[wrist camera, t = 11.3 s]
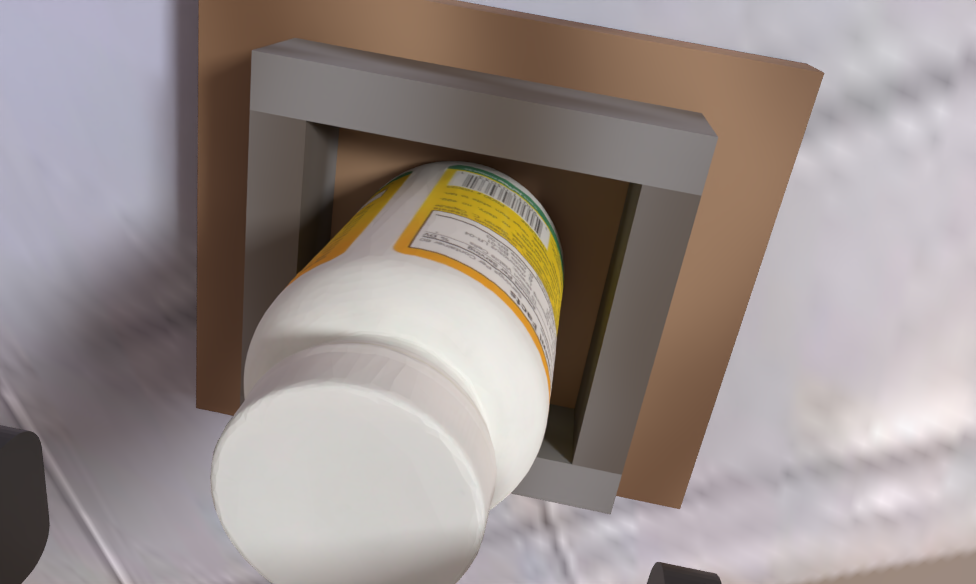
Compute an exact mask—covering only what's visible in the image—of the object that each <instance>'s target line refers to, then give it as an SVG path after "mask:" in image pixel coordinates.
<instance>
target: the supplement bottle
mask: <svg viewBox="0 0 976 584" xmlns="http://www.w3.org/2000/svg"><path fill="white" fill-rule="evenodd" d="M563 287H564V258H563V251H562V246H561V243H560V239H559V236H558V233H557V231H556V229H555V226H554V224H553V222H552V220H551V219H550V217H549V215H548V214H547V212H546V210H545V209H544V208H543V206H542V205H541V204H540V203H539V201H538V200H537V199H536V198H535V197H534V196H533V195H532V194H531V193H530V192H529V191H528V190H527V189H526V188H525V187H523V186H522V185H521V184H519V183H518V182H517V181H515V180H514V179H512V178H511V177H509V176H507V175H506V174H504V173H502V172H499V171H497V170H495V169H493V168H490V167H487V166H484V165H481V164H476V163H471V162H462V161H441V162H433V163H428V164H424V165H421V166H418V167H415V168H412V169H410V170H407V171H405V172H403V173H401V174H400V175H398V176H396V177H395V178H393V179H392V180H390V181H389V182H388V183H386V184H385V185H384V186H383V187H382V188H380V189H379V190H378V191H377V192H376V193H375V194H374V195H373V196H372V197H371V198H370V199H369V200H368V202H367V203H366V204H365V205H364V206H363V207H362V208H361V209H360V210H359V211H358V212H357V213H356V214H355V215H354V216H353V218H352V219H351V220H350V221H349V222H348V223H347V224H346V225H345V226H344V227H343V228H342V229H341V230H340V231H339V232H338V233H337V234H336V235H335V237H334V238H333V239H332V240H331V241H330V242H329V243H328V244H327V245H326V246H325V247H324V248H323V249H322V250H321V251H320V252H319V253H318V254H317V255H316V256H315V257H314V258H313V259H312V260H311V261H310V262H309V263H308V264H307V265H306V266H305V268H304V269H303V270H302V271H300V272H299V273H298V274H297V275H296V276H295V277H294V278H293V279H292V280H291V282H290V283H289V284H288V285H287V286H286V288H285V289H284V290H283V291H282V292H281V293H280V294H279V295H278V297H277V298H276V299H275V300H274V302H273V303H272V304H271V306H270V307H269V308H268V310H267V311H266V312H265V314H264V316H263V317H262V319H261V321H260V322H259V324H258V326H257V328H256V330H255V333H254V335H253V338H252V340H251V343H250V346H249V349H248V353H247V357H246V362H245V369H244V397H245V401H244V402H243V404H242V405H241V406H240V408H239V409H238V410H237V412H236V413H235V414H234V416H233V417H232V418H231V420H230V421H229V422H228V424H227V425H226V427H225V429H224V431H223V433H222V435H221V437H220V438H219V440H218V442H217V445H216V447H215V450H214V454H213V459H212V465H211V493H212V498H213V502H214V506H215V510H216V512H217V515H218V517H219V519H220V522H221V524H222V526H223V528H224V530H225V532H226V534H227V536H228V537H229V539H230V540H231V542H232V544H233V545H234V546H235V547H236V549H237V550H238V551H239V553H240V554H241V555H242V556H243V557H244V559H245V560H246V561H247V562H248V563H249V564H250V565H251V566H252V567H253V568H254V569H255V570H256V571H257V572H258V573H259V574H260V575H262V576H263V577H264V578H266V579H267V580H268V581H270V582H271V583H273V584H455V583H457V582H458V581H459V580H460V578H461V577H462V576H463V575H464V574H465V572H466V571H467V570H468V568H469V567H470V565H471V564H472V562H473V560H474V559H475V557H476V556H477V554H478V551H479V548H480V545H481V542H482V539H483V536H484V532H485V528H486V523H487V519H488V514H489V510H491V509H493V508H494V507H495V506H496V505H498V504H499V503H500V502H501V501H502V500H504V499H505V498H506V497H507V496H508V495H509V494H510V493H511V492H512V491H513V490H514V489H515V488H516V487H517V486H518V485H519V483H520V482H521V481H522V479H523V478H524V477H525V475H526V474H527V473H528V471H529V470H530V468H531V466H532V464H533V462H534V460H535V458H536V456H537V454H538V452H539V449H540V447H541V444H542V441H543V438H544V434H545V429H546V425H547V419H548V412H549V404H550V396H551V389H552V380H553V371H554V362H555V354H556V341H557V333H558V325H559V316H560V308H561V301H562V295H563Z"/></svg>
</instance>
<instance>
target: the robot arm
mask: <svg viewBox="0 0 976 584" xmlns="http://www.w3.org/2000/svg"><path fill="white" fill-rule="evenodd" d="M49 526H50V525H49V512H48V503H47V493H46V484H45V474H44V465H43V455H42V447H41V442H40V440H39V438H38V436H37V435H36V434H35V433H33V432H30V431H25V430H21V429H16V428H11V427H6V426H1V425H0V584H21V583H22V582H23V581H24V580H25V579H26V578H27V577H28V575H29V574H30V573H31V572H32V570H33V569H34V568H35V566H36V564H37V563H38V561H39V559H40V557H41V555H42V553H43V551H44V548H45V545H46V542H47V539H48V534H49ZM647 584H721V580H720V578H719V576H718V575H717V574H715V573H710V572H705V571H701V570H696V569H691V568H686V567H681V566H676V565H671V564H666V563H661V562H657V563H655V565H654V566H653V568H652V570H651V573H650V576H649V579H648V582H647Z"/></svg>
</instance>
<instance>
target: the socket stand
mask: <svg viewBox="0 0 976 584" xmlns="http://www.w3.org/2000/svg"><path fill="white" fill-rule="evenodd" d="M823 75H824V72H822V71H820V70H818V69H816V68H814V67H812V66H810V65H808V64H805V63H799V62H794V61H788V60H783V59H777V58H772V57H766V56H761V55H755V54H750V53H744V52H739V51H733V50H728V49H722V48H717V47H711V46H706V45H700V44H695V43H689V42H683V41H678V40H672V39H667V38H661V37H656V36H650V35H645V34H639V33H634V32H628V31H623V30H617V29H612V28H606V27H601V26H595V25H590V24H584V23H579V22H573V21H567V20H562V19H556V18H551V17H545V16H540V15H534V14H529V13H523V12H518V11H512V10H507V9H501V8H496V7H490V6H485V5H479V4H474V3H468V2H463V1H457V0H199V23H198V196H197V368H196V408H199V409H204V410H209V411H213V412H218V413H223V414H228V415H232V416H234V414H235V413H236V412H237V410H238V409H239V408H240V406H241V405H242V404H243V402H244V401H245V397H244V369H245V362H246V357H247V353H248V349H249V346H250V343H251V340H252V338H253V335H254V333H255V330H256V328H257V326H258V324H259V322H260V321H261V319H262V317H263V316H264V314H265V312H266V311H267V310H268V308H269V307H270V306H271V304H272V303H273V302H274V300H275V299H276V298H277V297H278V295H279V294H280V293H281V292H282V291H283V290H284V289H285V288H286V286H287V285H288V284H289V283H290V282H291V280H292V279H293V278H294V277H295V276H296V275H297V274H298V273H299V272H300V271H302V270H303V269H304V268H305V266H306V265H307V264H308V263H309V262H310V261H311V260H312V259H313V258H314V257H315V256H316V255H317V254H318V253H319V252H320V251H321V250H322V249H323V248H324V247H325V246H326V245H327V244H328V243H329V242H330V241H331V240H332V239H333V238H334V237H335V235H336V234H337V233H338V232H339V231H340V230H341V229H342V228H343V227H344V226H345V225H346V224H347V223H348V222H349V221H350V220H351V219H352V218H353V216H354V215H355V214H356V213H357V212H358V211H359V210H360V209H361V208H362V207H363V206H364V205H365V204H366V203H367V202H368V200H369V199H370V198H371V197H372V196H373V195H374V194H375V193H376V192H377V191H378V190H379V189H380V188H382V187H383V186H384V185H385V184H386V183H388V182H389V181H390V180H392V179H393V178H395V177H396V176H398V175H400V174H401V173H403V172H405V171H407V170H410V169H412V168H415V167H418V166H421V165H424V164H428V163H433V162H441V161H462V162H471V163H476V164H481V165H484V166H487V167H490V168H493V169H495V170H497V171H499V172H502V173H504V174H506V175H507V176H509V177H511V178H512V179H514V180H515V181H517V182H518V183H519V184H521V185H522V186H523V187H525V188H526V189H527V190H528V191H529V192H530V193H531V194H532V195H533V196H534V197H535V198H536V199H537V200H538V201H539V203H540V204H541V205H542V206H543V208H544V209H545V210H546V212H547V214H548V215H549V217H550V219H551V220H552V222H553V224H554V226H555V229H556V231H557V233H558V236H559V239H560V243H561V246H562V251H563V258H564V287H563V295H562V301H561V308H560V316H559V325H558V333H557V341H556V354H555V362H554V371H553V380H552V389H551V396H550V404H549V412H548V419H547V425H546V429H545V434H544V438H543V441H542V444H541V447H540V449H539V452H538V454H537V456H536V458H535V460H534V462H533V464H532V466H531V468H530V470H529V471H528V473H527V474H526V475H525V477H524V478H523V479H522V481H521V482H520V483H519V485H518V486H517V487H516V488H515V489H514V490H513V491H512V492H511V493H512V494H517V495H521V496H526V497H531V498H536V499H540V500H545V501H550V502H555V503H559V504H564V505H569V506H574V507H578V508H583V509H588V510H593V511H597V512H602V513H607V514H611V511H612V508H613V504H614V501H615V497H616V496H620V497H624V498H629V499H634V500H639V501H643V502H648V503H653V504H658V505H663V506H667V507H672V508H677V509H680V507H681V504H682V501H683V498H684V495H685V492H686V489H687V486H688V483H689V480H690V477H691V474H692V471H693V468H694V465H695V462H696V459H697V456H698V453H699V450H700V447H701V444H702V441H703V438H704V435H705V432H706V429H707V426H708V422H709V419H710V416H711V413H712V410H713V407H714V404H715V401H716V398H717V395H718V392H719V389H720V386H721V383H722V380H723V377H724V374H725V371H726V368H727V365H728V362H729V359H730V356H731V353H732V350H733V347H734V344H735V341H736V338H737V335H738V332H739V329H740V326H741V323H742V320H743V317H744V314H745V311H746V308H747V305H748V302H749V299H750V296H751V293H752V290H753V287H754V284H755V281H756V278H757V275H758V272H759V269H760V266H761V263H762V260H763V256H764V253H765V250H766V247H767V244H768V241H769V238H770V235H771V232H772V229H773V226H774V223H775V220H776V217H777V214H778V211H779V208H780V205H781V202H782V199H783V196H784V193H785V190H786V187H787V184H788V181H789V178H790V175H791V172H792V169H793V166H794V163H795V160H796V157H797V154H798V151H799V148H800V145H801V142H802V139H803V136H804V133H805V130H806V127H807V124H808V121H809V118H810V115H811V112H812V109H813V106H814V103H815V100H816V97H817V94H818V91H819V87H820V84H821V81H822V78H823Z"/></svg>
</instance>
